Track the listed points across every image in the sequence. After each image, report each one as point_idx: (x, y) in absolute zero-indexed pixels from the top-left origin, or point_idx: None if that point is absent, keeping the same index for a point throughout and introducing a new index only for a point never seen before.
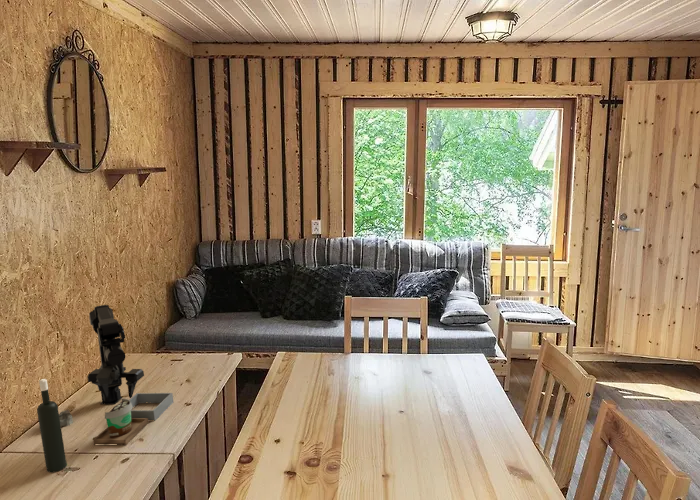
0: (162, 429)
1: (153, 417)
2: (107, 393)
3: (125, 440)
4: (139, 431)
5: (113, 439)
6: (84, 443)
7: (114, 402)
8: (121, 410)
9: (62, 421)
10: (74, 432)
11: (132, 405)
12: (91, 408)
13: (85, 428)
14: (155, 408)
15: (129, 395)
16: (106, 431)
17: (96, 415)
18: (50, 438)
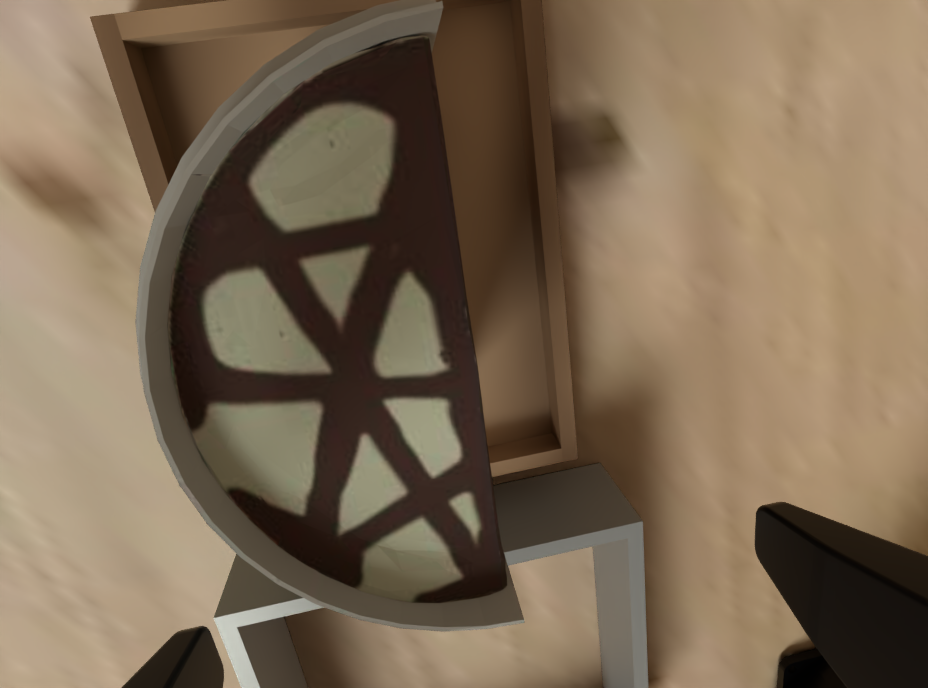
0: (11, 425)
1: (243, 560)
2: (815, 609)
3: (95, 18)
4: None
5: (267, 1)
6: (648, 10)
7: (790, 673)
8: (160, 235)
9: None
10: (867, 210)
11: (609, 671)
12: None
13: (805, 295)
14: (239, 660)
15: (152, 684)
16: (535, 225)
17: (827, 499)
18: None
